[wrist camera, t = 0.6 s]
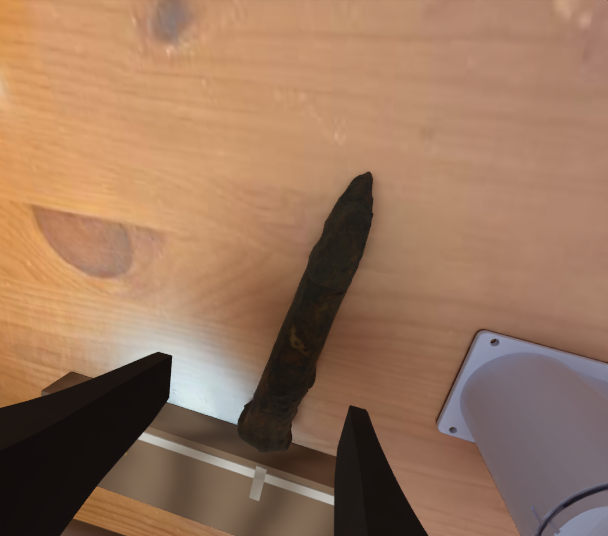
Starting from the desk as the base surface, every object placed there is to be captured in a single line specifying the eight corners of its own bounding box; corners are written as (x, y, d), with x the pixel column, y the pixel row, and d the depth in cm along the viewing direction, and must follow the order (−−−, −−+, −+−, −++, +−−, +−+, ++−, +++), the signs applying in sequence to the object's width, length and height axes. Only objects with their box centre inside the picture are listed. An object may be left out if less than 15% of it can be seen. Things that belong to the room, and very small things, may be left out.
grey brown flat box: (370, 468, 23) (372, 502, 20) (343, 537, 25) (342, 575, 23) (70, 371, 25) (39, 391, 23) (71, 443, 27) (43, 468, 25)
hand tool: (293, 421, 23) (280, 476, 19) (247, 400, 23) (223, 450, 19) (409, 193, 18) (430, 194, 13) (348, 167, 18) (348, 159, 13)
